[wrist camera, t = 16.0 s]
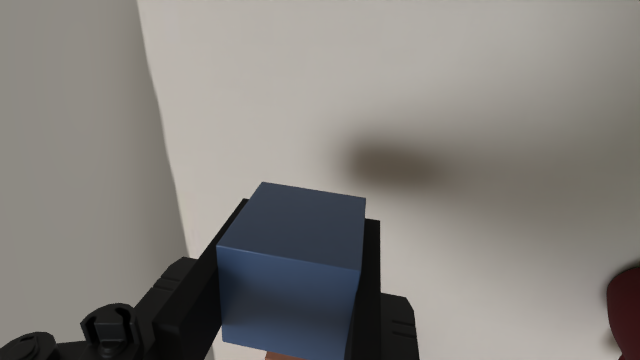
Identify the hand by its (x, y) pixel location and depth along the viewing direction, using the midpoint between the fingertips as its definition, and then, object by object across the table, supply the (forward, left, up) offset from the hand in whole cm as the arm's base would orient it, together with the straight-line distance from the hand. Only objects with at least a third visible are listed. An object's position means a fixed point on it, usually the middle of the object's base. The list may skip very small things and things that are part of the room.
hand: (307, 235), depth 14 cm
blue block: (0, 0, 0) cm, 0 cm away
